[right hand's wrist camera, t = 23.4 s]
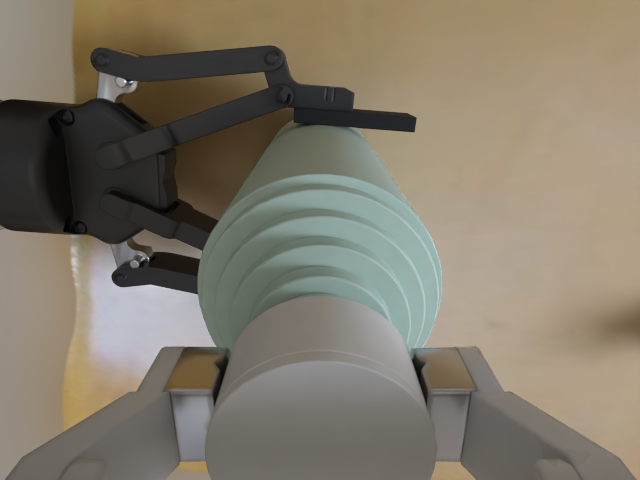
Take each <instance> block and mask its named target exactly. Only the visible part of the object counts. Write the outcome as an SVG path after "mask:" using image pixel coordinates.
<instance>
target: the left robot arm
mask: <svg viewBox="0 0 640 480" xmlns="http://www.w3.org/2000/svg"><path fill="white" fill-rule="evenodd" d="M91 63H92V65H93V67H94V68H95V69H96V70H97V71H99V77H98V88H97V98H95V99H92V100H89V101H88V102H86V103H84V104H67V103H54V102H42V101H29V100H16V99H10V100H5V101H2V100H0V229H4V228H6V229H9V230H13V231H24V232H39V233H53V234H69V235H79V234H84V235H90V236H93V237H96V238H98V239H99V240H101V241H103V242H105V243H108V244H111V248H112V251H113V254H114V257H115V261H116V264H117V269H116V270H115V271H114V272H113V274H112V281H113V282H114V283H115V284H116V285H117V286H119V287H130V286H140V285H149V284H151V285H156V286H161V287H166V288H171V289H175V290H180V291H185V292H190V293H195V294H198V270H199V263H200V259H197V258H192V257H187V256H183V255H178V254H173V253H167V252H153V249H152V248H151V247H150V246H144V245H139V244H137V243H136V242H134V240H133V239H132V237H133V236H135V235H136V234H138V233H139V232H141V231H142V230H144V229H147V230H149V231H151V232H153V233H155V234H158V235H160V236H162V237H165V238H168V239H178V240H180V241H182V242H185V243H187V244H189V245H191V246H193V247H196V248H198V249H200V250H202V251H203V249H204V246H205V244H206V242H207V240H208V238H209V236H210V234H211V232H212V231H213V229H214V228H215V226H216V225H217V223H218V220H216V219H214V218H212V217H209V216H207V215H205V214H203V213H201V212H199V211H197V210H195V209H193V207H192V206H191V205H190V204H188V203H186V202H184V201H182V200H180V199H178V196H177V185H176V181H175V178H174V175H173V173H174V168H175V164H176V149H174V148H172V147H175V146H177V145H180V144H183V143H185V142H188V141H191V140H194V139H197V138H200V137H203V136H205V135H208V134H211V133H214V132H217V131H220V130H223V129H225V128H228V127H231V126H234V125H237V124H240V123H243V122H245V121H248V120H251V119H254V118H257V117H260V116H263V115H265V114H268V113H271V112H274V111H277V110H280V109H283V108H287V107H288V108H294V123H303V124H316V125H328V126H341V127H354V128H367V129H379V130H392V131H405V132H415V125H416V117H414V116H412V115H410V114H408V113H397V112H384V111H372V110H359V109H353V102H354V93H353V92H351V91H349V90H347V89H346V88H342V87H329V86H317V85H304V84H299V83H297V82H296V81H295V80H293V78H292V77H291V74H290V71H289V68H288V64H287V61H286V56H285V54H284V52H283V51H282V50H280V49H279V48H277V47H275V46H259V47H248V48H237V49H226V50H215V51H203V52H192V53H181V54H170V55H159V56H147V57H145V56H142V55H138V54H135V53H131V52H128V51H124V50H117V49H108V48H97V49H95V50H94V51H93V52H92V54H91ZM257 72H264V73H265V76H266V79H267V82H268V86H269V88H267V89H264V90H262V91H259V92H256V93H253V94H250V95H248V96H245V97H242V98H239V99H236V100H233V101H231V102H228V103H225V104H222V105H219V106H217V107H214V108H211V109H208V110H205V111H203V112H200V113H197V114H194V115H191V116H189V117H186V118H183V119H180V120H177V121H175V122H172V123H169V124H166V125H163V126H161V127H158V128H155V127H153V126H152V125H151V124H149V123H148V122H147V121H146V120H144V119H143V118H142V117H140V116H139V115H138V114H137V113H135V112H134V111H133V110H132V109H130V108H129V107H128V106H126V105H125V104H124V103H123V102H122V98H123V96H124V95H125V94H126V93H135V92H139V91H140V90H141V89H142V87H143V84H144V82H150V81H166V80H178V79H189V78H200V77H212V76H223V75H235V74H246V73H257Z"/></svg>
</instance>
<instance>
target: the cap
mask: <svg viewBox="0 0 640 480" xmlns="http://www.w3.org/2000/svg"><path fill="white" fill-rule="evenodd" d="M436 456H437V441H436V435H435V430H434V427H433V424H432V421H431V418H430V415H429V412H428V408H427V405H426V402H425V399H424V396H423V393H422V390H421V387H420V383H419V380H418V377H417V374H416V371H415V368H414V365H413V362H412V358H411V355H410V353H409V350H408V347H407V345H406V343H405V341H404V339H403V337H402V336H401V334H400V333H399V332H398V330H397V329H396V328H395V327H394V326H393V325H392V324H391V323H390V322H389V321H388V320H387V319H386V318H385V317H383V316H382V315H381V314H379V313H378V312H376V311H374V310H373V309H371V308H369V307H367V306H365V305H363V304H360V303H358V302H355V301H352V300H348V299H344V298H339V297H332V296H310V297H302V298H297V299H293V300H290V301H286V302H283V303H281V304H278V305H276V306H274V307H272V308H270V309H268V310H267V311H265V312H264V313H262V314H260V315H259V316H258V317H257V318H255V319H254V320H253V321H252V322H251V323H250V324H249V325H248V326H247V327H246V328H245V329H244V330H243V332H242V333H241V335H240V336H239V338H238V339H237V341H236V343H235V345H234V347H233V349H232V352H231V355H230V359H229V362H228V365H227V368H226V372H225V375H224V378H223V381H222V384H221V388H220V391H219V394H218V397H217V401H216V404H215V407H214V410H213V414H212V417H211V420H210V423H209V427H208V430H207V434H206V439H205V460H206V464H207V469H208V472H209V475H210V477H211V480H430V479H431V476H432V473H433V470H434V467H435V462H436Z"/></svg>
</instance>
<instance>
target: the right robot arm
mask: <svg viewBox="0 0 640 480" xmlns="http://www.w3.org/2000/svg"><path fill="white" fill-rule="evenodd" d="M230 355H231V353H230V350H229V348H224V347H164V348H162V349H161V350H160V352H159V353H158V355H157V357H156V359H155V360H154V362H153V364H152V365H151V367H150V369H149V371H148V372H147V374H146V376H145V378H144V379H143V381H142V383H141V385H140V386H139V388H138V390H137V392H129V393H127V394H125V395H124V396H122V397H120V398H119V399H117V400H116V401H114V402H112V403H111V404H109V405H107V406H106V407H104V408H102V409H101V410H99V411H97V412H96V413H94V414H92V415H91V416H89V417H88V418H86V419H84V420H83V421H81V422H79V423H78V424H76V425H74V426H73V427H71V428H69V429H68V430H66V431H65V432H63V433H61V434H60V435H58V436H56V437H55V438H53V439H51V440H50V441H48V442H46V443H45V444H43V445H42V446H40V447H38V448H37V449H35V450H33V451H32V452H30V453H28V454H27V455H25V456H23V457H22V458H21V460H20V461H19V462H18V463H17V465H16V466H15V467H14V469H13V470H12V471H11V472H10V474H9V475H8V476H7V478H6V479H5V480H165V479H166V478H167V477H168V476H169V474H170V473H171V472H172V471H173V470H174V469H175V468H176V467H177V466H178V465H179V462H193V461H206V460H205V439H206V434H207V430H208V427H209V423H210V420H211V417H212V414H213V410H214V407H215V404H216V401H217V397H218V394H219V391H220V388H221V384H222V381H223V378H224V375H225V372H226V368H227V365H228V362H229V359H230ZM410 355H411V358H412V362H413V365H414V368H415V371H416V374H417V377H418V380H419V383H420V387H421V390H422V393H423V396H424V399H425V402H426V405H427V408H428V412H429V415H430V418H431V421H432V424H433V427H434V430H435V435H436V441H437V456H436V461H447V462H461V464H462V465H463V466H464V467H465V468H466V469H467V470H468V471H469V472H470V473H471V474H472V475H473V477H474V478H475V479H476V480H636V479H635V477H634V476H633V475H632V473H631V472H630V471H629V469H628V468H627V467H626V466H625V464H624V463H623V462H622V460H621V459H620V458H619V457H617V456H616V455H614V454H612V453H611V452H609V451H607V450H606V449H604V448H602V447H601V446H599V445H598V444H596V443H594V442H593V441H591V440H589V439H588V438H586V437H584V436H583V435H581V434H579V433H578V432H576V431H575V430H573V429H571V428H570V427H568V426H566V425H565V424H563V423H561V422H560V421H558V420H557V419H555V418H553V417H552V416H550V415H548V414H547V413H545V412H543V411H542V410H540V409H538V408H537V407H535V406H534V405H532V404H530V403H529V402H527V401H525V400H524V399H522V398H520V397H519V396H517V395H515V394H514V393H512V392H504V390H503V388H502V387H501V385H500V383H499V382H498V380H497V378H496V376H495V375H494V373H493V371H492V370H491V368H490V366H489V364H488V363H487V361H486V359H485V358H484V356H483V354H482V353H481V351H480V349H479V348H478V347H476V346H471V347H452V348H411V352H410Z"/></svg>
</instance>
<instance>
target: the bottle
mask: <svg viewBox="0 0 640 480" xmlns="http://www.w3.org/2000/svg"><path fill="white" fill-rule="evenodd" d="M442 284H443V283H442V269H441V264H440V260H439V255H438V252H437V250H436V247H435V244H434V242H433V240H432V238H431V236H430V234H429V232H428V231H427V229H426V227H425V226H424V224H423V223H422V221H421V220H420V218H419V217H418V215H417V214H416V212H415V211H414V209H413V208H412V206H411V205H410V204H409V202H408V201H407V199H406V198H405V196H404V195H403V193H402V192H401V190H400V189H399V187H398V186H397V184H396V183H395V181H394V180H393V178H392V177H391V175H390V174H389V173H388V171H387V170H386V168H385V167H384V165H383V164H382V162H381V161H380V159H379V158H378V156H377V155H376V153H375V152H374V150H373V149H372V147H371V146H370V144H369V143H368V142H367V140H366V139H365V137H364V136H363V134H362V133H361V132H360V131H359V130H358V129H357V128H354V127H341V126H328V125H316V124H303V123H294V119H293V120H291V121H290V122H288V123H287V124H286V125H285V126H283V127H282V128H281V129H280V130H279V131H278V133H277V134H276V135H275V137H274V138H273V140H272V141H271V143H270V144H269V146H268V147H267V149H266V150H265V152H264V153H263V155H262V156H261V158H260V159H259V161H258V162H257V164H256V165H255V167H254V169H253V170H252V172H251V173H250V175H249V176H248V178H247V179H246V181H245V182H244V184H243V185H242V187H241V188H240V190H239V191H238V193H237V194H236V196H235V197H234V199H233V200H232V202H231V203H230V205H229V206H228V208H227V209H226V211H225V212H224V214H223V215H222V217H221V218H220V220H219V221H218V223H217V225H216V226H215V228H214V229H213V231H212V232H211V234H210V236H209V238H208V240H207V242H206V244H205V246H204V249H203V253H202V256H201V259H200V263H199V270H198V296H199V303H200V307H201V311H202V314H203V318H204V320H205V322H206V326H207V329H208V331H209V333H210V335H211V337H212V340H213V341H214V343H215V345H216V346H217V347H224V348H229V350H230V353H231V352H232V349H233V347H234V345H235V343H236V341H237V339H238V338H239V336H240V335H241V333H242V332H243V330H244V329H245V328H246V327H247V326H248V325H249V324H250V323H251V322H252V321H253V320H254V319H255V318H257V317H258V316H259V315H260V314H262V313H264V312H265V311H267V310H268V309H270V308H272V307H274V306H276V305H278V304H281V303H283V302H286V301H290V300H293V299H297V298H302V297H310V296H332V297H339V298H344V299H348V300H352V301H355V302H358V303H360V304H363V305H365V306H367V307H369V308H371V309H373V310H374V311H376V312H378V313H379V314H381V315H382V316H383V317H385V318H386V319H387V320H388V321H389V322H390V323H391V324H392V325H393V326H394V327H395V328H396V329H397V330H398V332H399V333H400V334H401V336H402V337H403V339H404V341H405V343H406V345H407V347H408V350H409V353H410V352H411V348H423V346H424V345H425V343H426V341H427V339H428V337H429V335H430V333H431V330H432V328H433V325H434V322H435V319H436V316H437V314H438V311H439V306H440V302H441V297H442Z"/></svg>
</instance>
